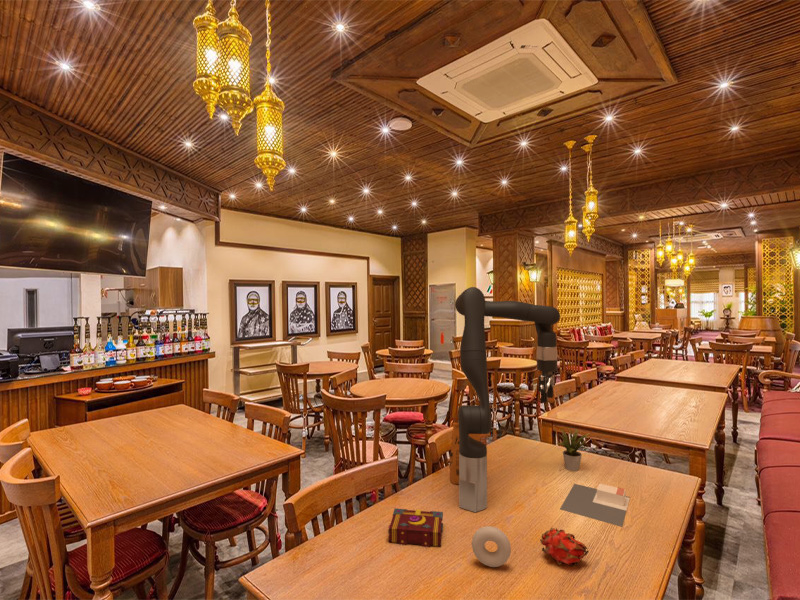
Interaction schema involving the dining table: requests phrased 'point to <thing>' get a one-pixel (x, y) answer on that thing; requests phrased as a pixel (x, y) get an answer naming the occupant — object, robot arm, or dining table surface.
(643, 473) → the dining table surface
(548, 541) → the dragon fruit
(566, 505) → the mat
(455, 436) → the coffee package
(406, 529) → the decorative book
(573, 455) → the house plant
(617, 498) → the card box
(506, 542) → the donut
